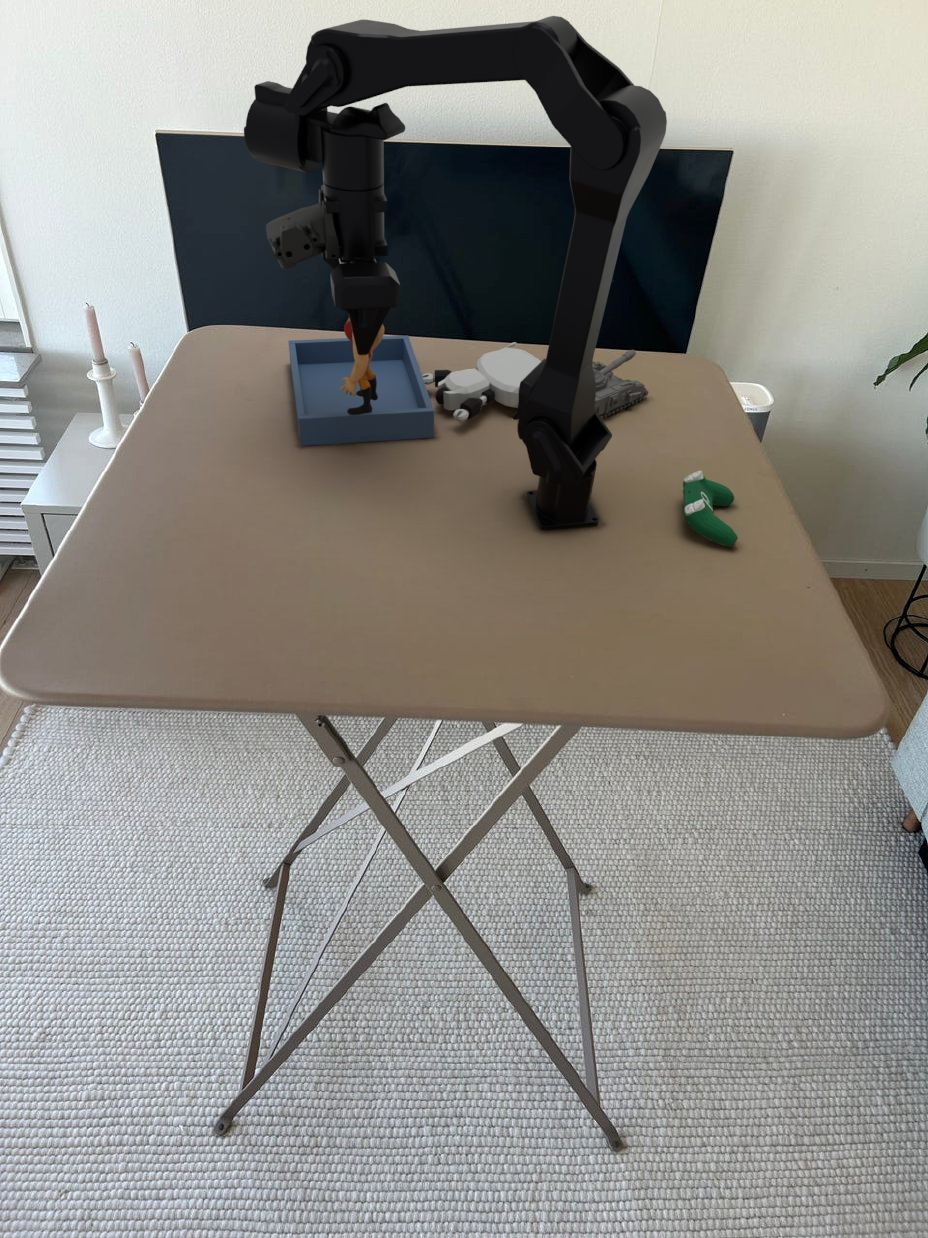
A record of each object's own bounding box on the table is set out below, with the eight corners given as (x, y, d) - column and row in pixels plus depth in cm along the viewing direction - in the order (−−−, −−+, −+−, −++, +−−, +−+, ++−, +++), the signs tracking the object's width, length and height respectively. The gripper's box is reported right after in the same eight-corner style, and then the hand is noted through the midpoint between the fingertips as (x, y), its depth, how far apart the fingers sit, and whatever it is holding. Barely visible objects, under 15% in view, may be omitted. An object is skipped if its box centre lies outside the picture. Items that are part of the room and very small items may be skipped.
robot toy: (458, 442, 106) (566, 411, 110) (457, 409, 102) (568, 378, 107) (416, 395, 113) (518, 367, 118) (414, 363, 110) (519, 335, 115)
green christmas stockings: (706, 511, 100) (676, 474, 97) (736, 494, 97) (706, 456, 95) (709, 561, 93) (676, 523, 90) (741, 544, 91) (709, 505, 88)
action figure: (357, 384, 104) (352, 254, 94) (387, 387, 103) (385, 257, 94) (337, 423, 97) (329, 287, 87) (369, 427, 96) (365, 291, 86)
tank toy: (601, 372, 119) (607, 335, 115) (655, 400, 114) (663, 363, 110) (538, 398, 113) (542, 360, 109) (592, 429, 108) (598, 391, 104)
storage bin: (433, 437, 105) (434, 410, 102) (300, 446, 102) (298, 418, 99) (408, 360, 119) (408, 335, 116) (290, 366, 116) (288, 340, 113)
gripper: (261, 152, 88) (276, 303, 99) (272, 218, 75) (287, 384, 86) (372, 151, 90) (374, 299, 101) (401, 215, 77) (401, 378, 88)
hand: (358, 337), depth 94 cm, fingers closed on action figure, 7 cm apart
